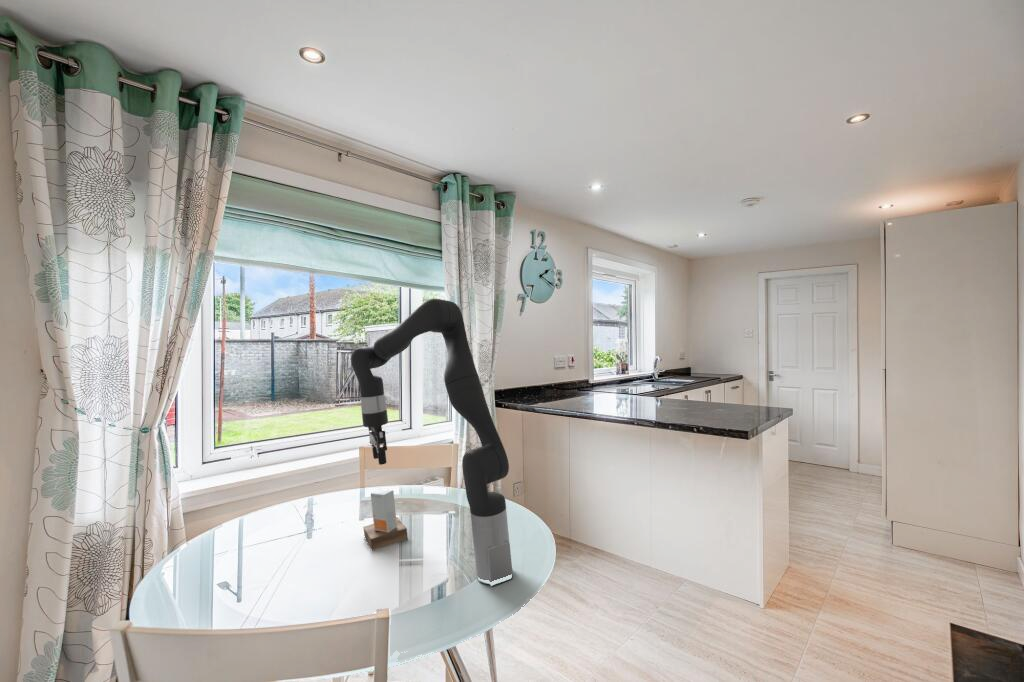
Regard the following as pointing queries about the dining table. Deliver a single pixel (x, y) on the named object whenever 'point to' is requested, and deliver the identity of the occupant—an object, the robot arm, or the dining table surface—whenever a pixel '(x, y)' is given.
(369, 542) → the walnut block
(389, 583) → the dining table surface
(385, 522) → the skincare box
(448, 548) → the dining table surface
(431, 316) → the robot arm
